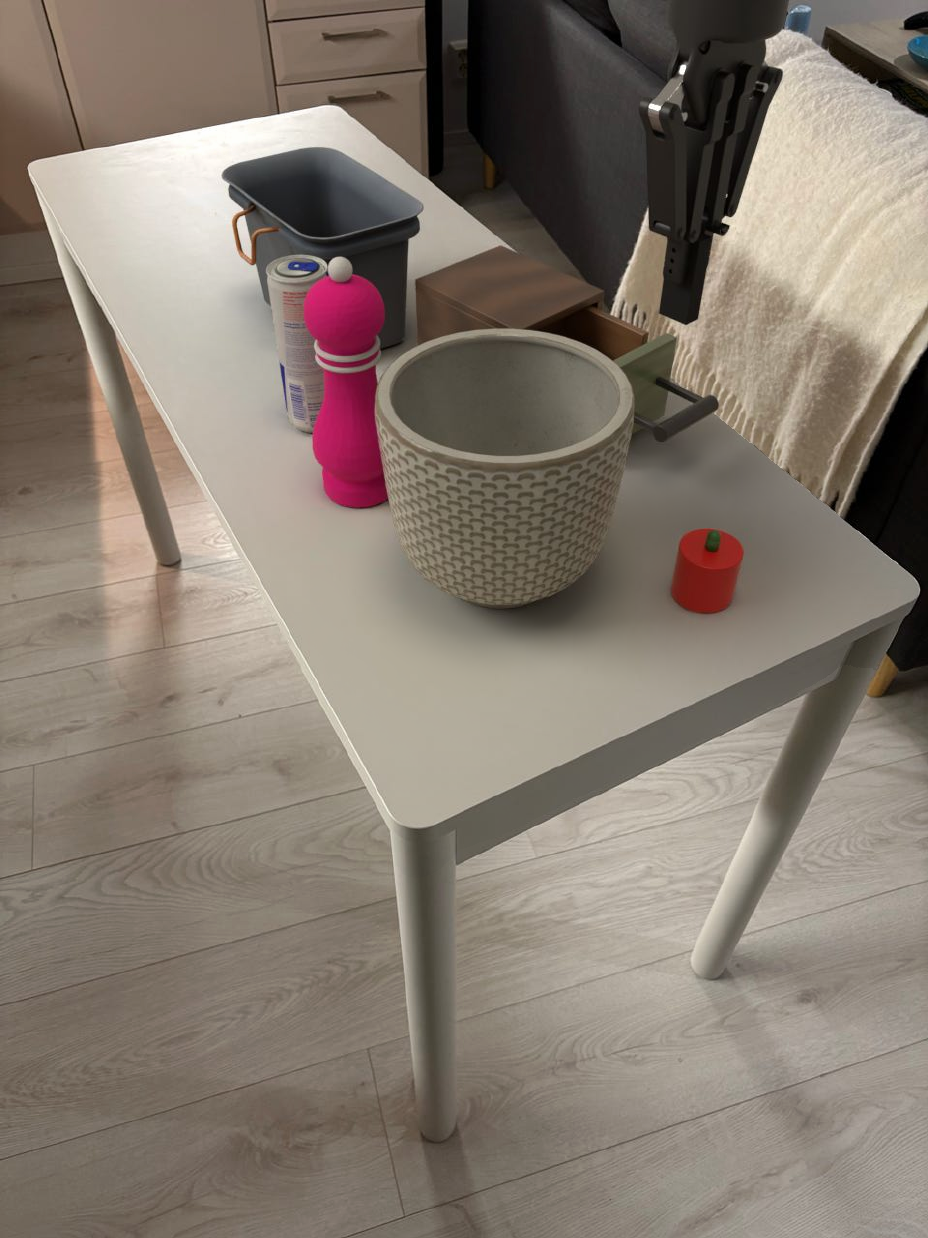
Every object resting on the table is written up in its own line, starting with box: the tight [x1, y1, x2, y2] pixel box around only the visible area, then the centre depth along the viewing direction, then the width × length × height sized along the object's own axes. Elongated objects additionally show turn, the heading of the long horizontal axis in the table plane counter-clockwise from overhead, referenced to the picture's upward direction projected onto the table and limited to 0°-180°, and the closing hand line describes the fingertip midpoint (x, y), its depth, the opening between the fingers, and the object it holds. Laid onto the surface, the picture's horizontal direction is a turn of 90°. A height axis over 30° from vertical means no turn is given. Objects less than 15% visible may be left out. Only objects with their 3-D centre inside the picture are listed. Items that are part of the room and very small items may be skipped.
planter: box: [375, 329, 635, 610], centre depth 70 cm, size 17×17×16 cm
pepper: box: [670, 527, 745, 614], centre depth 71 cm, size 5×5×6 cm
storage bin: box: [221, 146, 425, 350], centre depth 99 cm, size 21×16×14 cm
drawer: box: [536, 306, 720, 444], centre depth 86 cm, size 19×10×8 cm, turn 43°
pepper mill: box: [303, 257, 389, 508], centre depth 76 cm, size 7×7×20 cm
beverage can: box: [266, 255, 329, 434], centre depth 85 cm, size 5×5×15 cm
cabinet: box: [414, 245, 605, 346], centre depth 93 cm, size 14×11×10 cm
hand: (678, 315), depth 76 cm, fingers closed
